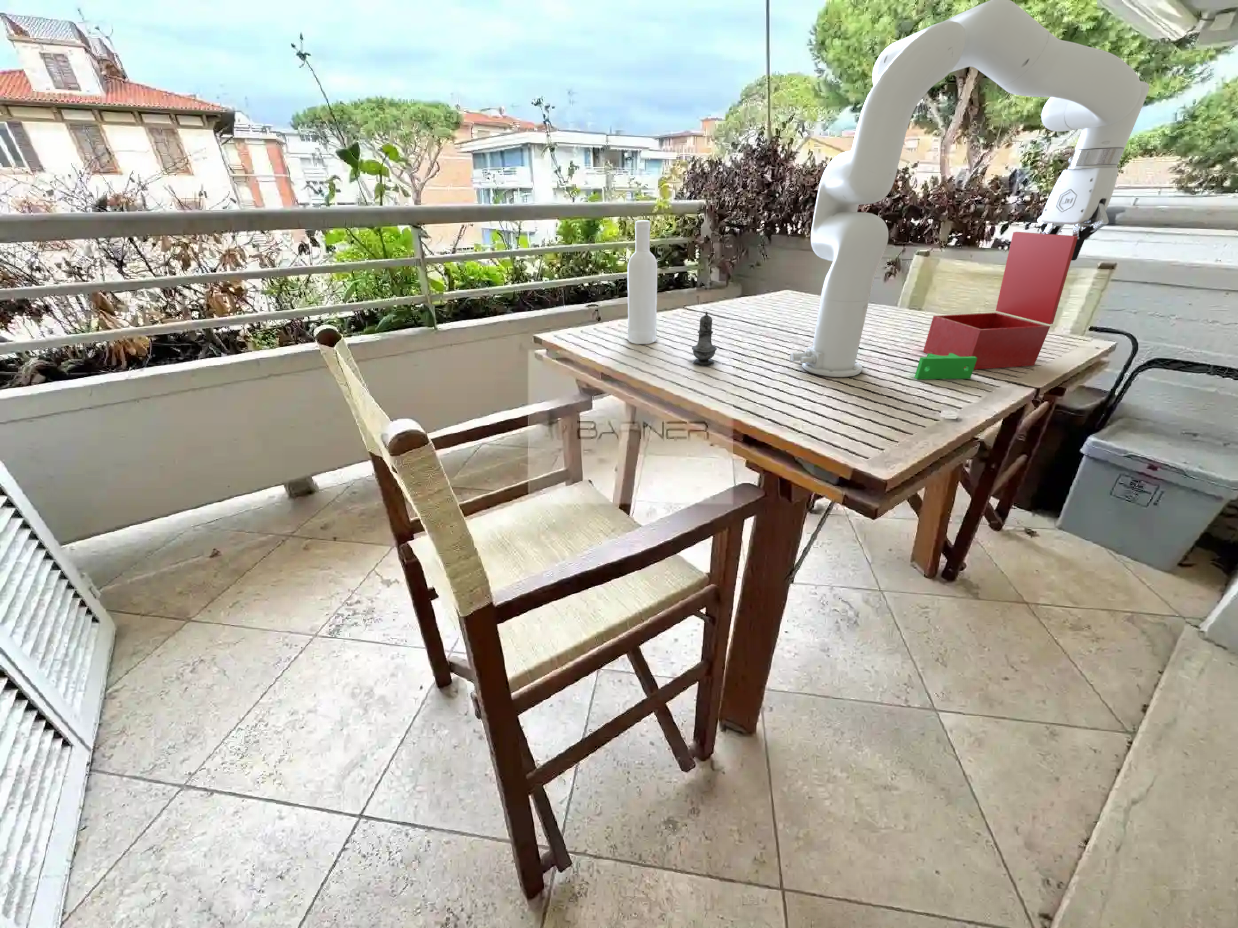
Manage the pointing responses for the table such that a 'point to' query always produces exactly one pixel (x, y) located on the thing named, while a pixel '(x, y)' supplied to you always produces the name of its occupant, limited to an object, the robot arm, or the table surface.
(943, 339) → the red hinged box
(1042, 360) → the table surface
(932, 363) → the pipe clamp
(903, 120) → the robot arm
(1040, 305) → the red box lid
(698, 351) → the salt shaker
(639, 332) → the bottle
